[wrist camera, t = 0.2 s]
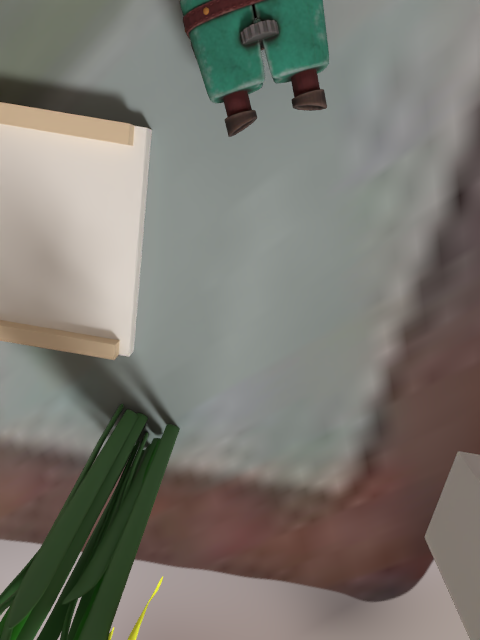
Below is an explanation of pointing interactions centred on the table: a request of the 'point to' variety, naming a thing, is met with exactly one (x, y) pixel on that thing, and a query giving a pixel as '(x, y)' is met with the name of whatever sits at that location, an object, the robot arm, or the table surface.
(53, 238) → the display riser
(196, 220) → the table surface
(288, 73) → the binoculars
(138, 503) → the daffodil flowers
